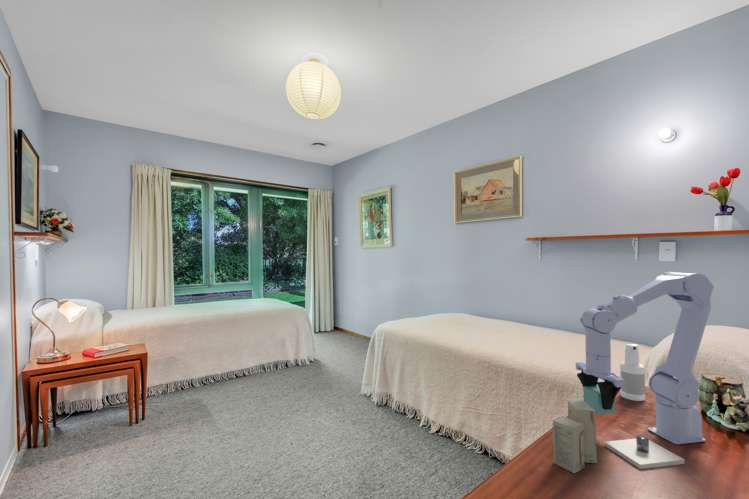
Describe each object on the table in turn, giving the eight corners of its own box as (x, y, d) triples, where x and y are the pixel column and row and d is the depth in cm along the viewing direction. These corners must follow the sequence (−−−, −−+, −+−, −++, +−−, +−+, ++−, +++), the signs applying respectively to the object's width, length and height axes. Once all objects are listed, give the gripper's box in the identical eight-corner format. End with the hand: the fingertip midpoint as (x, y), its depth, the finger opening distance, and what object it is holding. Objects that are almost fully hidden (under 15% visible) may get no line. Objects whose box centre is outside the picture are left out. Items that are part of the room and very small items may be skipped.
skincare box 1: (585, 468, 80) (585, 424, 80) (574, 474, 78) (573, 428, 78) (563, 457, 85) (563, 415, 85) (552, 462, 82) (551, 419, 83)
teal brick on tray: (599, 405, 98) (599, 385, 98) (614, 413, 93) (614, 392, 93) (583, 406, 97) (583, 386, 97) (597, 414, 92) (597, 393, 92)
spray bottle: (626, 400, 117) (626, 346, 118) (616, 393, 124) (615, 341, 124) (649, 402, 116) (648, 347, 116) (637, 394, 123) (637, 342, 123)
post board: (644, 441, 92) (644, 426, 92) (684, 463, 82) (684, 446, 82) (604, 445, 90) (604, 429, 90) (640, 469, 80) (640, 451, 80)
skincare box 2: (597, 464, 82) (596, 411, 82) (577, 462, 83) (576, 410, 83) (586, 449, 88) (586, 400, 88) (567, 447, 89) (567, 399, 89)
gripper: (566, 347, 102) (566, 395, 101) (606, 362, 87) (607, 417, 87) (587, 346, 103) (588, 393, 102) (631, 361, 88) (632, 415, 88)
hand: (598, 404), depth 95 cm, fingers closed on teal brick on tray, 5 cm apart
